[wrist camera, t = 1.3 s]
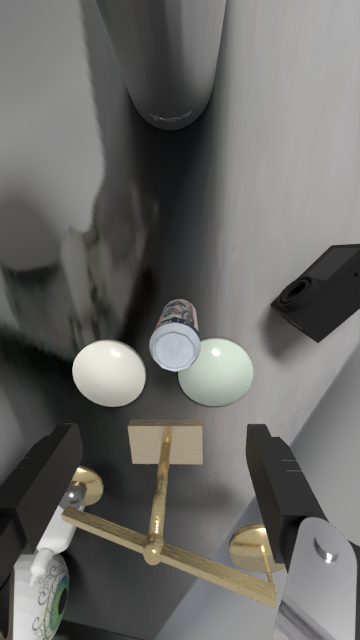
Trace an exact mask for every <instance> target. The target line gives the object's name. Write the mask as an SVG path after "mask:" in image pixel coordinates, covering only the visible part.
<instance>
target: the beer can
mask: <svg viewBox="0 0 360 640" xmlns="http://www.w3.org/2000/svg"><path fill="white" fill-rule="evenodd" d="M149 349H150V353H151V356H152V357H153V359H154V361H155V362H157V363H158V364H159V365H160V366H161V367H162V368H163V369H167V370H171V371H174V372H176V371H179V370H183V369H186V368H188V367H189V366H191V365H192V364H193V363H194V362H195V361H196V360H197V358H198V356H199V354H200V350H201V344H200V340H199V332H198V324H197V314H196V310H195V308H194V306H193V305H192V304H191V303H190V302H188V301H186V300H183V299H176V300H173V301H170V302H169V303H168V304H167V305H166V306H165V308H164V309H163V312H162V314H161V316H160V319H159V321H158V323H157V325H156V328H155V330H154V332H153V334H152V336H151V339H150V343H149Z"/></svg>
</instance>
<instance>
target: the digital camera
mask: <svg viewBox="0 0 360 640" xmlns="http://www.w3.org/2000/svg"><path fill="white" fill-rule="evenodd" d="M271 306H272V307H273V308H275V309H276V310H277V311H278V312H279V313H280V314H281V315H282V316H283V317H284V318H285V319H286V320H287V321H288V322H289V323H290V324H292V325H293V326H294V327H296V328H297V329H299V330H300V331H301V332H303V333H304V334H306V335H307V336H309V337H310V338H311V339H313V340H314V341H316V342H317V343H319V342H320V341H321V340H323V339H324V338H325V337H326V336H327V335H329V334H330V333H331V332H332V331H333V330H335V329H336V328H337V327H338V326H339V325H341V324H342V323H343V322H344V321H345V320H347V319H348V318H349V317H350V316H351V315H353V314H354V313H355V312H356V311H357V310H359V309H360V244H349V245H332V246H331V247H330V248H329V249H328V250H327V251H326V252H324V253H323V254H322V255H321V256H320V257H319V258H318V259H317V260H316V261H315V262H314V263H313V264H312V265H311V266H310V267H309V268H308V269H307V270H306V271H305V272H304V273H303V274H301V275H300V276H299V277H298V278H297V279H296V280H295V281H293V282H292V283H290V284H289V285H288V286H287V287H286V288H285V289H284V290H283V291H282V292H281V294H280V295H279V297H278V298H276V299H275V300H274V301H273V302H272V303H271Z"/></svg>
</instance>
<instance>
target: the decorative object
mask: <svg viewBox="0 0 360 640" xmlns="http://www.w3.org/2000/svg"><path fill="white" fill-rule="evenodd" d="M37 553H38V550H37V549H36V550H35V552H34V554H33V555H24V554H21V555H20V556H19V558H18V560H17V561H16V563H15V565H14V568H15V585H14V622H13V640H51V639H52V638H53V636H54V634H55V632H56V630H57V628H58V626H59V624H60V621H61V619H62V616H63V614H64V611H65V607H66V604H67V600H68V593H69V573H68V568H67V565H66V563H65V561H64V559H63V557H62V556H61V555H60V554H59V553H58V554H55V555H54V556H53V558H52V560H51V563H50V565H49V567H48V569H47V572H46V573H45V574H44V575H42V576H40V577H39V578H38V579H37V581H36V582H35V584H34V586H30V585H29V582H30V579H31V577H32V573H31V571H30V567H31V565H32V563H33V561H34V559H35V557H36V555H37Z"/></svg>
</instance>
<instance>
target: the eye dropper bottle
mask: <svg viewBox="0 0 360 640" xmlns="http://www.w3.org/2000/svg"><path fill="white" fill-rule="evenodd" d="M84 508H85V506H80V508H79V509H78V510H81V511H83V510H84ZM63 511H64V510H63V509H62V508H61V507H60V506H59V505H58V507H57V509H56V511H55V513H54V515H53V517H52V519H51V521H50V523H49V525H48V527H47V528H46V530H45V532H44V534H43V536H42V538H41V540H40V542H39V544H38V546H37V548H36V549H37V550H38V553H37V555H36V557H35V559H34V561H33V563H32V565H31V567H30V571H31V573H32V577H31V579H30V582H29V585H30V586H34V584H35V582H36V581H37V579H38V578H39V577H40V576H42V575H44V574H45V573H46V572H47V569H48V567H49V565H50V563H51V560H52V558H53V556H54V555H55V554H58V553H60V552H62V551H64V550H66V549H67V548H68V546H69V544H70V542H71V539H72V537H73V535H74V532H75V530H76V526H74V525H71V524H69V523H67V522H64V521H63V519H62V516H61V514H62V512H63Z"/></svg>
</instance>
